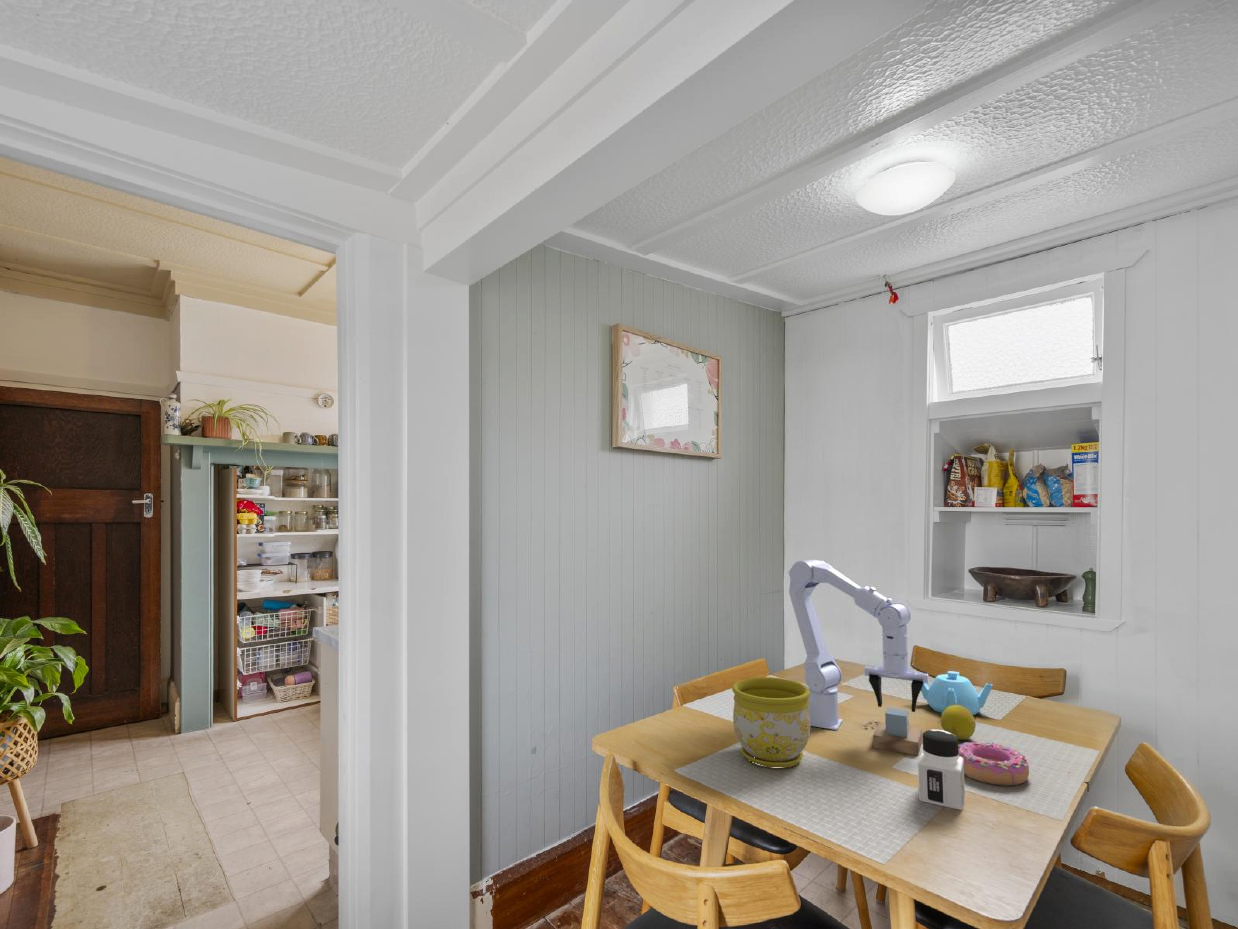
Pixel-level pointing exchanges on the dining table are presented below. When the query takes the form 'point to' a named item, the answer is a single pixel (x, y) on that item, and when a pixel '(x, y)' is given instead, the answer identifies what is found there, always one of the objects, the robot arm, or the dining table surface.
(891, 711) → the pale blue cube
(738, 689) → the flowerpot
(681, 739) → the dining table surface
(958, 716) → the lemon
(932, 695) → the teapot
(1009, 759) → the donut
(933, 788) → the container
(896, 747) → the walnut block
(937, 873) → the dining table surface
